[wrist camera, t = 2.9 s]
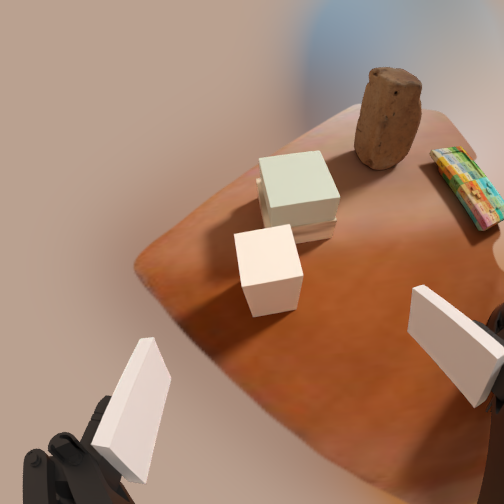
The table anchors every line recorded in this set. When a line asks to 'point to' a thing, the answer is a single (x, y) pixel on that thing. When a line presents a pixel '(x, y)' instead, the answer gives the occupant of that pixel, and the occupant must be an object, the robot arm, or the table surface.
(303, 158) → the tower top
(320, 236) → the tower base
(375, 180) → the table surface
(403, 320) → the table surface
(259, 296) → the cream block
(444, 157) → the puzzle game
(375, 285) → the table surface
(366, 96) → the block
